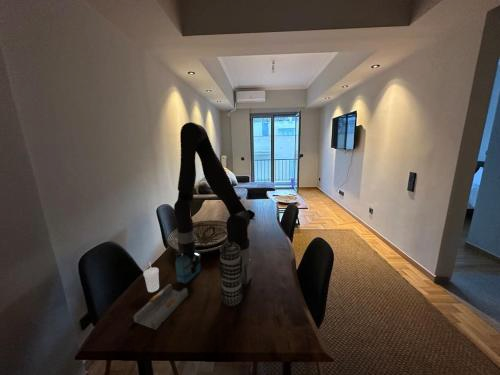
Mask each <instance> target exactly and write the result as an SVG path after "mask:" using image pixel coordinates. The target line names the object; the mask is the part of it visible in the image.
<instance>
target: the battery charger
mask: <svg viewBox="0 0 500 375" xmlns="http://www.w3.org/2000/svg"><path fill="white" fill-rule="evenodd" d="M246 210H247V212H248V214H249V216H250V219H251V218H255V216H256V214H255V211H252V210H251V209H246Z"/></svg>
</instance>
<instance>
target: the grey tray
mask: <svg viewBox="0 0 500 375" xmlns="http://www.w3.org/2000/svg"><path fill="white" fill-rule="evenodd" d="M188 296H189V293H188V288H186V287H183V288H182V289H181V290H180V291H179V290H176V289H173V285H172V284H171V283H168V284H167V285H166V286H165V287H164V288H163V289H161V290H160V291H159V292H158V293H157V294H155V295H154V296H152V297H151V298H150V300H149V301H148V302H147V303H145V305H143V306H142V307H141V308H140V309H139V310H138V311H137V312H136V313H135V314H134V315H133V320H134V321H133V322H134V323H136V324H137V325H142V326H143V327H146V328H149V329H152V330H155V331H156V330H157V329H158V328H159V327H160V326H161V325H162V324H163V323H164V322H165V320H166V319H167V318H168V317H169V316H170V315H171V314H172V313H173V312H174V311H175V310H176V308H178V306H180V304H181V303H182V302H183V301H184V300H185V299H186V298H187V297H188ZM162 322H163V323H162ZM161 323H162V324H161Z"/></svg>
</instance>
